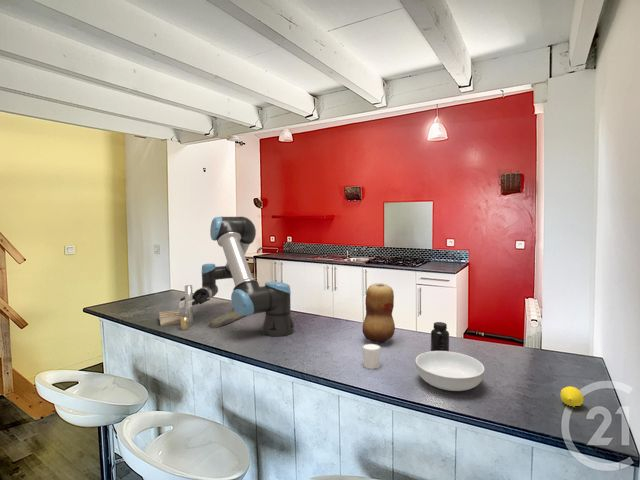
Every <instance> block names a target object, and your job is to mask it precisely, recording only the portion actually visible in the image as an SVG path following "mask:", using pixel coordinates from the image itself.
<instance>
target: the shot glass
mask: <svg viewBox="0 0 640 480" xmlns="http://www.w3.org/2000/svg"><path fill="white" fill-rule="evenodd" d="M381 350H382V346H380V345H379V344H376V343H364V344H363V345H362V346H361V351H362V353H361V354H362V361H363V364H362V365H363V367H364V368H365V367H366V369H368V368H369V370H375V369H374V368H376V369H379V367H380V363H381V361H380V360H381V353H382V351H381Z"/></svg>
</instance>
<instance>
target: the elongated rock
mask: <svg viewBox="0 0 640 480" xmlns="http://www.w3.org/2000/svg"><path fill="white" fill-rule="evenodd" d="M247 316H248V315H244V316H242V315H239V314H238V313H236V311H235V310H234V308H233V307H232V309H230V310H229V312H226V313H224V314H221V316H218V317H215V318H213V319H210V321H209V322H208V326H209V327H210V328H213V329H217V328H220V327H222V326H225V325H228V324H233V322H236V321H238V320H240V319H241V318H245V317H247Z"/></svg>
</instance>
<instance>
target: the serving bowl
mask: <svg viewBox="0 0 640 480" xmlns="http://www.w3.org/2000/svg"><path fill="white" fill-rule="evenodd" d="M414 362H415V368H416V370H417V373H418V375H419V377H421V378H422V380H423V381H425V382H426V383H427V384H429V385H431V386H432V387H435V388H437V389H441V390H445V391H451V392H463V391H469V390H471V389H473V388H475V387H477V386H478V385H480V384H481V382H482V380H483V378H484V375H485V371H486V370H485V366H484V364H483V363H482V362H481V361H479V360H478V359H477V358H475V357H472V356H470V355H466V354H465V353H459V352H455V351H450V350H449V351H431V350H430V351H425V352H422V353H420V354H418V355H417V356H416V358H415V361H414Z"/></svg>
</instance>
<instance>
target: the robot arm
mask: <svg viewBox="0 0 640 480" xmlns="http://www.w3.org/2000/svg"><path fill="white" fill-rule="evenodd" d="M209 232H210V233H209V234H210V235H209V236H210V238H211V240H212V241H215V242H217V245H218V246H219V247H220V248H222V250H223V253H224V256H225V258H226V264H225V265H221V266H220V265H219V266H216V264H215V263H204V264H202V265H201V272H200V273H201V287H200V288H199V289H198V288H197V290H195V291H194V292H193V293H192V296H193V300H191V301H190V302H188V308H190V307H192V306H195V305H203V304H205V303H206V302H208V301H209V302H210V300H211V298H214V297H215V296H216V295H217V294H218V292H219V287H218V286H217V284H216V283H217V281H218V280H226V279H232V280H233V284H234V287H233V289H232V292H231V296H230V298H231V305H232V309H233V308H234V310H235V311H236V313H238V314H239V315H242V316H244V315H247V316H252V315H257V314H262V313H265V316H264V321H263V324H262V327H261V330H262V331H261V332H262V334H264V335H266V336H270V337H283V336H288V335H291V334H293V333H295V324H294V323H295V322H294V321H293V317H292V313H291V311H292V310H291V295H292V292H291V286H290V285H289V284H288V283H285V282H280V281H266V282H265V283H264V286H260V285H259V282H258V280H256V279H254V278H253V274H252V271H251V269H250V267H249V263H248V261H247V259H246V253H247V251H248V248H249V247H250V245H251V244H252V243H253V242H254V241H255V239H256V235H257V229H256V227H255V224H254V223H253V221H252V220H251V219H249V218H248V217H245V216H215V217H214V218H213V219H212V220H211V222H210V231H209ZM178 306H179V309H182V308H184V307H185V296H183V297H181V298H180V302H179V303H178Z"/></svg>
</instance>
